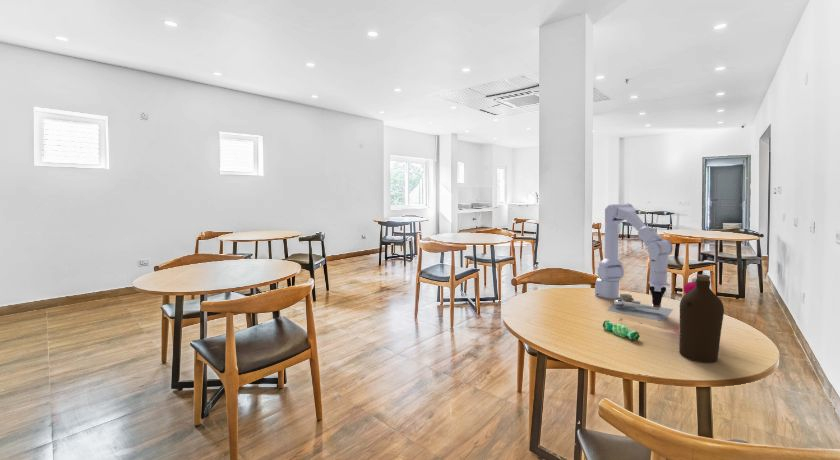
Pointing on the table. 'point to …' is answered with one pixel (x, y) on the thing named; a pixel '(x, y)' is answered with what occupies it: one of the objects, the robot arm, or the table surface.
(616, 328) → the candy
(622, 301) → the lever
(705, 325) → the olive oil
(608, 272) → the robot arm
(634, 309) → the nutcracker base
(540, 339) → the table surface
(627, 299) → the walnut
